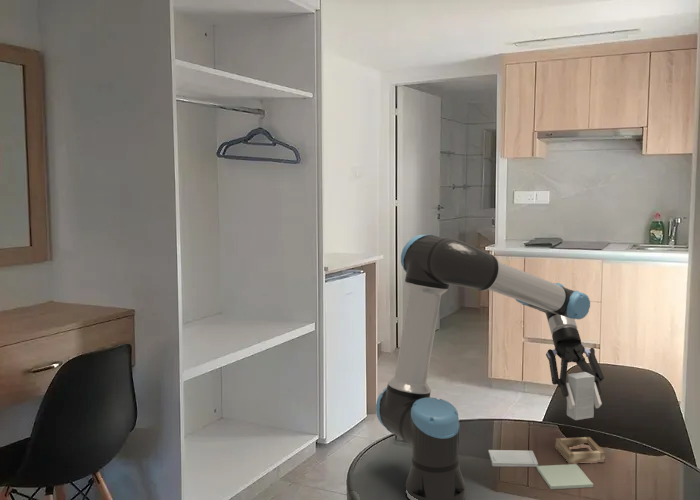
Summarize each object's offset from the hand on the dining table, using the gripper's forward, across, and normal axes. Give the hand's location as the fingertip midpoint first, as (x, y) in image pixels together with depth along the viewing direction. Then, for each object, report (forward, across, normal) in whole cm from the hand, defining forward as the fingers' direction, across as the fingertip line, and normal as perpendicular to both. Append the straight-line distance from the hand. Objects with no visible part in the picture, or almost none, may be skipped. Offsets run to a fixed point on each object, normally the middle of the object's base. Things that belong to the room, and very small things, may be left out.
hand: (585, 406), depth 179 cm
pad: (+17, +8, -6) cm, 20 cm away
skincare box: (+1, 0, -6) cm, 6 cm away
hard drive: (+9, +18, -15) cm, 26 cm away
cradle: (+8, -1, -15) cm, 17 cm away
